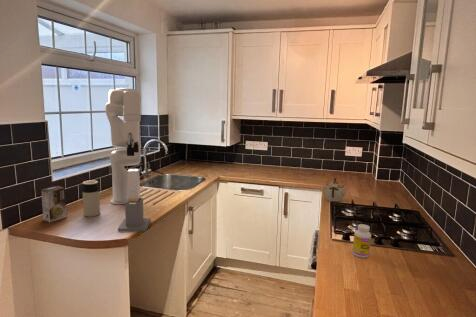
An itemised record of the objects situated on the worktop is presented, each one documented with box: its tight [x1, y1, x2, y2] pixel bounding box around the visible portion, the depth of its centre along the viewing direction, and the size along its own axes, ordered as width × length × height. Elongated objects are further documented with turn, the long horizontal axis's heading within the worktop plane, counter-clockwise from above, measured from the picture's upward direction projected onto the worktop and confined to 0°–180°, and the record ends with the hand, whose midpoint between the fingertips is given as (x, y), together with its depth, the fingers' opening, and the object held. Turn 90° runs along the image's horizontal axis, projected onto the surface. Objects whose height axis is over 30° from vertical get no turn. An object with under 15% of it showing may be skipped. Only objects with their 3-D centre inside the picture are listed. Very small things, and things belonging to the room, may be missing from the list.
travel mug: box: [81, 179, 101, 218], centre depth 169 cm, size 8×8×18 cm
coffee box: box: [40, 185, 68, 223], centre depth 161 cm, size 9×6×16 cm
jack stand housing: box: [117, 197, 151, 233], centre depth 155 cm, size 13×13×14 cm
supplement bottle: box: [352, 223, 372, 259], centre depth 134 cm, size 7×7×13 cm
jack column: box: [127, 168, 141, 202], centre depth 153 cm, size 5×5×20 cm
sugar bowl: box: [322, 177, 347, 202], centre depth 209 cm, size 20×15×15 cm
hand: (133, 154), depth 150 cm, fingers open, 9 cm apart
